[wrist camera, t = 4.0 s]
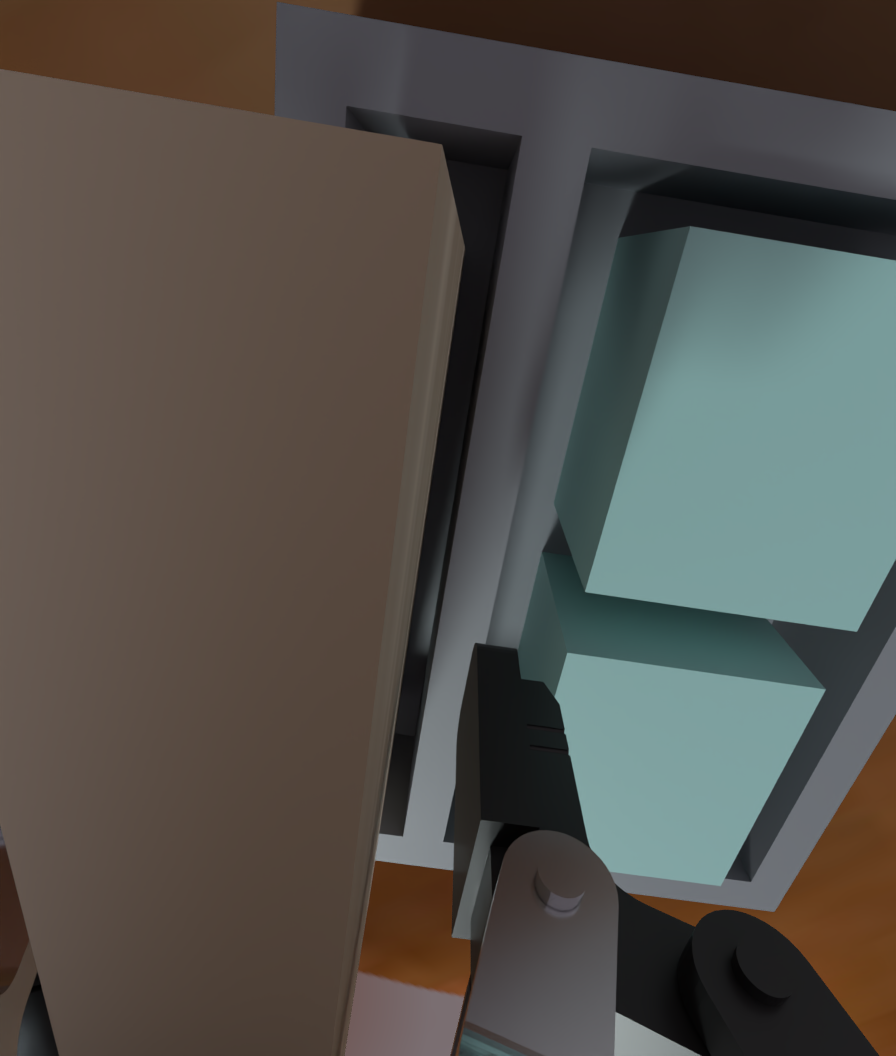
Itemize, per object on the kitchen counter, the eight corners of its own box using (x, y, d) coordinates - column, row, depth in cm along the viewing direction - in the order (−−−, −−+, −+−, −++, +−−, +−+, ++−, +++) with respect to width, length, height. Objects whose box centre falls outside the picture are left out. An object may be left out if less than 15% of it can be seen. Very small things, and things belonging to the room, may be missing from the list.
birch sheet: (354, 688, 20) (155, 1435, 7) (400, 239, 14) (-197, 33, 1) (400, 694, 20) (283, 1447, 7) (465, 249, 14) (440, 144, 1)
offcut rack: (304, 721, 22) (260, 845, 18) (341, 90, 14) (276, 2, 9) (710, 776, 23) (774, 911, 18) (980, 200, 14) (1229, 170, 10)
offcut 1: (553, 503, 17) (585, 591, 12) (617, 237, 14) (690, 226, 9) (753, 533, 17) (856, 631, 13) (858, 278, 14) (1042, 285, 10)
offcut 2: (499, 726, 20) (508, 858, 16) (541, 551, 18) (567, 652, 13) (665, 748, 21) (720, 886, 16) (734, 580, 18) (825, 689, 13)
